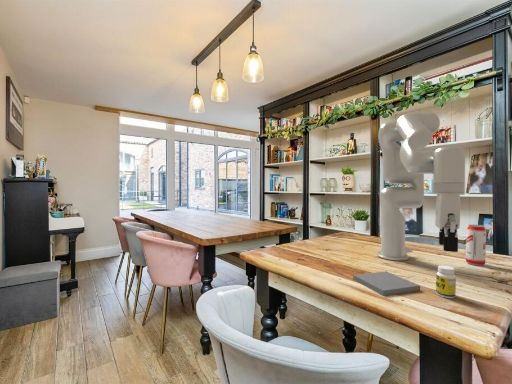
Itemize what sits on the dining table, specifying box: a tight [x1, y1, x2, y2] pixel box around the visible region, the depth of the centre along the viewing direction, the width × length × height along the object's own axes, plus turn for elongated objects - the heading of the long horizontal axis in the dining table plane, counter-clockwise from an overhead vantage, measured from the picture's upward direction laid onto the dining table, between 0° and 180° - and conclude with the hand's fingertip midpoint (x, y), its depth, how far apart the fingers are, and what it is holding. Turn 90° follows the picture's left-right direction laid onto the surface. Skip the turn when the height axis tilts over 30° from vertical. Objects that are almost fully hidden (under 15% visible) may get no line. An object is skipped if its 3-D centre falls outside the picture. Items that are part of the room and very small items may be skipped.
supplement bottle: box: [435, 265, 457, 299], centre depth 79 cm, size 5×5×8 cm
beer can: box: [465, 224, 487, 267], centre depth 110 cm, size 6×6×16 cm
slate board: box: [352, 270, 421, 296], centre depth 88 cm, size 14×14×2 cm
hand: (447, 247), depth 78 cm, fingers open, 9 cm apart
